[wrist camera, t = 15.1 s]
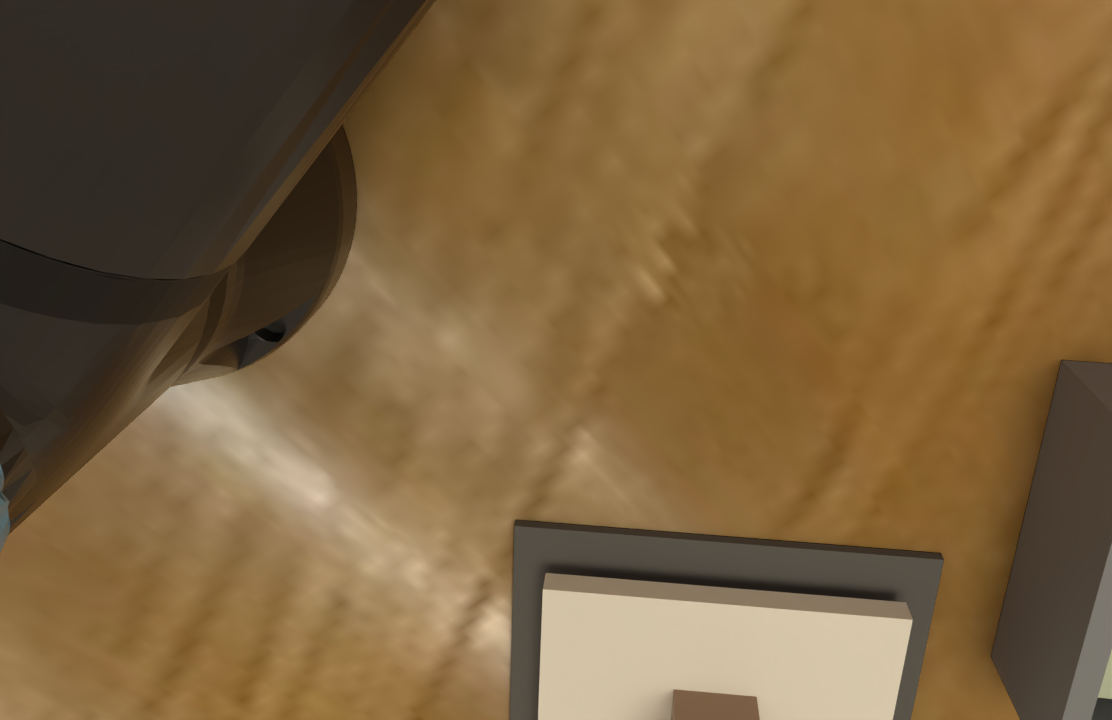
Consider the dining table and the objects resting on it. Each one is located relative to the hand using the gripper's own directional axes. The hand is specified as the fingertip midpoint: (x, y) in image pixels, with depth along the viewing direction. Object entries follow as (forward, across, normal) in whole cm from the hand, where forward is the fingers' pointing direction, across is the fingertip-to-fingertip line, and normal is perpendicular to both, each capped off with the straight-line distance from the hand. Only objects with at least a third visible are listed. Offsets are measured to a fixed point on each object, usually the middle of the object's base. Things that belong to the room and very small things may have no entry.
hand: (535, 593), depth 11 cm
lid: (+28, +8, -26) cm, 39 cm away
